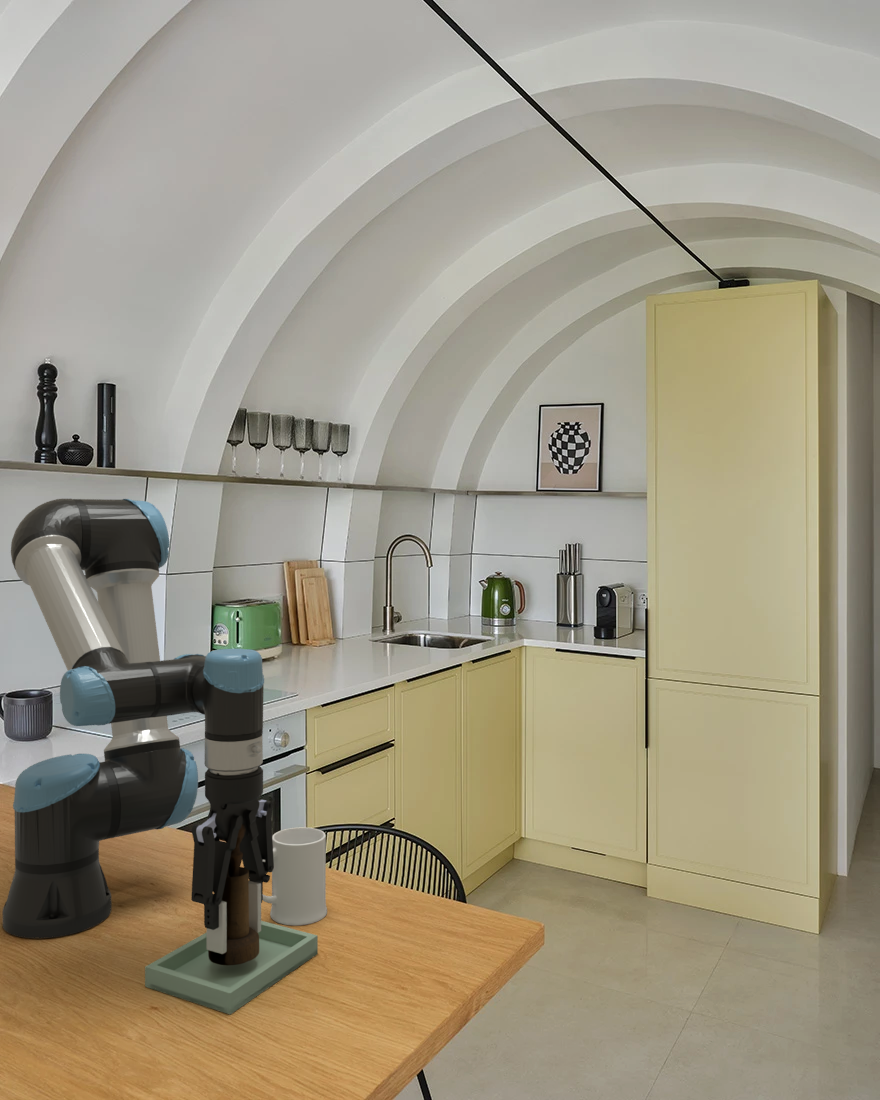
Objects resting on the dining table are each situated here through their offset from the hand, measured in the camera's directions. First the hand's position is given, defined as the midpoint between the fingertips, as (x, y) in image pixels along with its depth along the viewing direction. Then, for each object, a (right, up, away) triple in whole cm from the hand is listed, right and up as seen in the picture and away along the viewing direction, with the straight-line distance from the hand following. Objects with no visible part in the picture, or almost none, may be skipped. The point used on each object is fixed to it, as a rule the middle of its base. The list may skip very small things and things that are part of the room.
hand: (234, 939), depth 124 cm
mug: (+4, -4, +17) cm, 18 cm away
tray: (0, -4, 0) cm, 4 cm away
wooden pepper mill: (0, -2, 0) cm, 2 cm away
